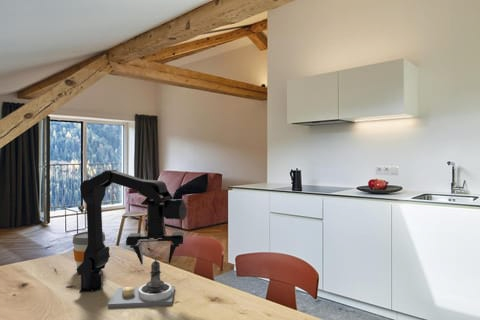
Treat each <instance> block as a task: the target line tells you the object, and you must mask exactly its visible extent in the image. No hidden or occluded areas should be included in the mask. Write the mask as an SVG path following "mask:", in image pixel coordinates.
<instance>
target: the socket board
mask: <svg viewBox="0 0 480 320" xmlns="http://www.w3.org/2000/svg"><path fill="white" fill-rule="evenodd" d="M163 282H164V285H163V288H162V289H161V291H163V292H161V293H157V294H148V292H150V291H149V289H148V286H147V283H145V284H143V285H141V286H134V287H133V286H126V287H117V288H116V290H115V291H114V293H113V294H112V297H111V299H110V300H109V301H108V303H107V308H109V309H111V308H114V309H115V308H133V307H134V308H135V307H137V308H138V307H157V306H172V305H173V299H174V296H175V295H174V294H175V290H176V289H175V288H176V286H175V285H171V284H170V283H169V282H165V281H163Z"/></svg>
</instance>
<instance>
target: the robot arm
mask: <svg viewBox="0 0 480 320" xmlns="http://www.w3.org/2000/svg"><path fill="white" fill-rule="evenodd" d="M112 184H116V185H119V186H122V187H124V188H128V189H131V190H134V191H136V192H138V193H139V194H140V195H141V196H143V197H144V200H143V201H142V202H141V203H140V204H141V206H146V214H147V215H146V221H145V226H144V231H145V232H146V235H142V234H141V233H142V232H141V233H140V232H135V233H133V232H131V233H129V235H127V236H126V238H125V245H126V246H129V247H130V248H129V249H133V250H134V252H135V253H136V256H137V258H138V260H139V262H140V263H139V264H140V265H141V266H142V265H144V264H143V263H144V256H143V243H144V242H145V243H146V242H151V243H152V242H170V246H169V253H168V254H169V256H168V264H169V265H170V264H171V262H172V258H173V255H174V253H175V250H176V248H178V247H180V245H182V244H184V242H185V234H184V233H183V232H172V233H171V234H170V235H167V234H166V224H165V220H175V221H176V220H179V221H183V220H185V218H186V217H187V214H188V213H187V211H188V207H187V205H186V203H185V200H184V198H183V199H182V198H178V199H176V198H175V199H174V198H173V196H172V194H171V193H170V191H169V190H168V187H167V185H166V183H165V182H164V181H162V180H156V179H143V178H141V177H140V178H139V177H137V176H133V175H130V174H127V173H124V172H121V171H118V170H116V169H106V170H104V171H102V172H101V173H100V174H97V175H95V176H93V177H91V178H89V179H84V180H83V182H81V183H80V187H79V189H80V195H81V199H82V200H83V202H84V203H85V205H86V223H87V224H86V225H87V227H86V228H87V231H86V232H88V246H87V248H86V250H85V252H84V258H83V263H82V264H81V265H80V266H79V267H78V268H77V267H76V269H75V270H76V272H77V275H78V276H80V288H79V290H78V291H79V293H81V292H85V293H86V292H99V290H100V289H101V288H102V287H103V286H104V274H103V271H102V269H105V267H106V264H107V263H108V262H109V258H110V257H111V256H110V246H106V245H105V242H104V243H103V235H102V232H103V216H102V215H103V214H102V203H103V200H104V198H105V197H106V191H107V188H109V187H110V186H111V185H112Z"/></svg>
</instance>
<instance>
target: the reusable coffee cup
mask: <svg viewBox="0 0 480 320" xmlns="http://www.w3.org/2000/svg"><path fill="white" fill-rule="evenodd" d="M102 235H103V243H104V244H105V242H106V235H105V232H104V231H102ZM72 244H73V249H72V250H73V256H74V257H73V258H74V261H75V263H76V269H77V268H78V267H79V266H80V265H81V264H82V263H83V258H84V252H85V250H86V248H87V246H88V231H82V232H78V233H75V234H73V236H72Z"/></svg>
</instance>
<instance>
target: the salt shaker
mask: <svg viewBox="0 0 480 320" xmlns="http://www.w3.org/2000/svg"><path fill="white" fill-rule="evenodd" d="M150 266H151V267H150V268H151V271H150V273H149V274H150V281H148V282H147V283H146V284H147V286H148V289H149V291H150V292H148V294H157V293H161V292H163V291H161V289H162V288H163V285H164V282H165V281H163V280H162V279H161V273H162V271H160V270H161V269H160V268H161V267H160V266H161V264H160V262H159V261H157V259H156V258H155V259H154V261H153V262H152V263H151V265H150Z"/></svg>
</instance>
